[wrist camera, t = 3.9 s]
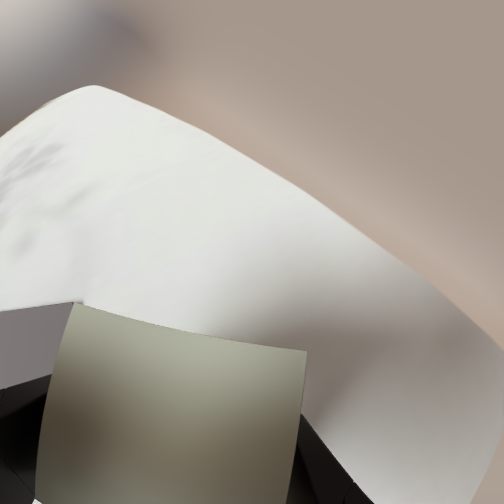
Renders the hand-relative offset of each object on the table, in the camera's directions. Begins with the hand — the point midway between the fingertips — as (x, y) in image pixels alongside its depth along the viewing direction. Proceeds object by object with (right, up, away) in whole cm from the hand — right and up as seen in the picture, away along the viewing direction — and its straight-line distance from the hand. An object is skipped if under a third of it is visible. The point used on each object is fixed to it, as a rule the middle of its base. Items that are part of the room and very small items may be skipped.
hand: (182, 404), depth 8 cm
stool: (-1, -5, +5) cm, 7 cm away
